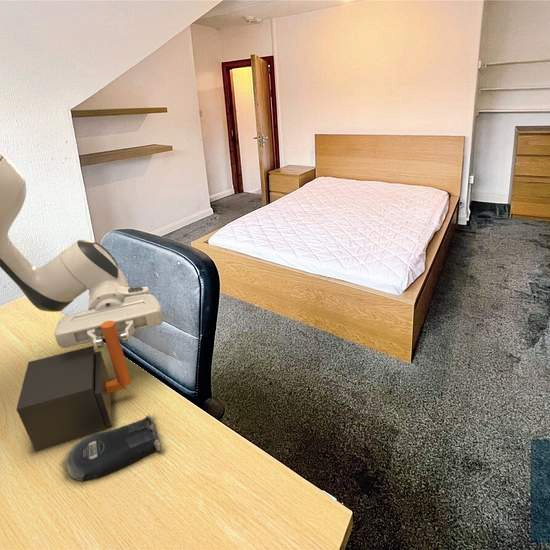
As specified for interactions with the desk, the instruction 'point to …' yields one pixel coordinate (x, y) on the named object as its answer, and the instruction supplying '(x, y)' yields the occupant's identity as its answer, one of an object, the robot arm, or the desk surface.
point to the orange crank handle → (101, 377)
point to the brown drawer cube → (60, 399)
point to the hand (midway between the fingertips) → (112, 342)
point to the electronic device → (112, 450)
